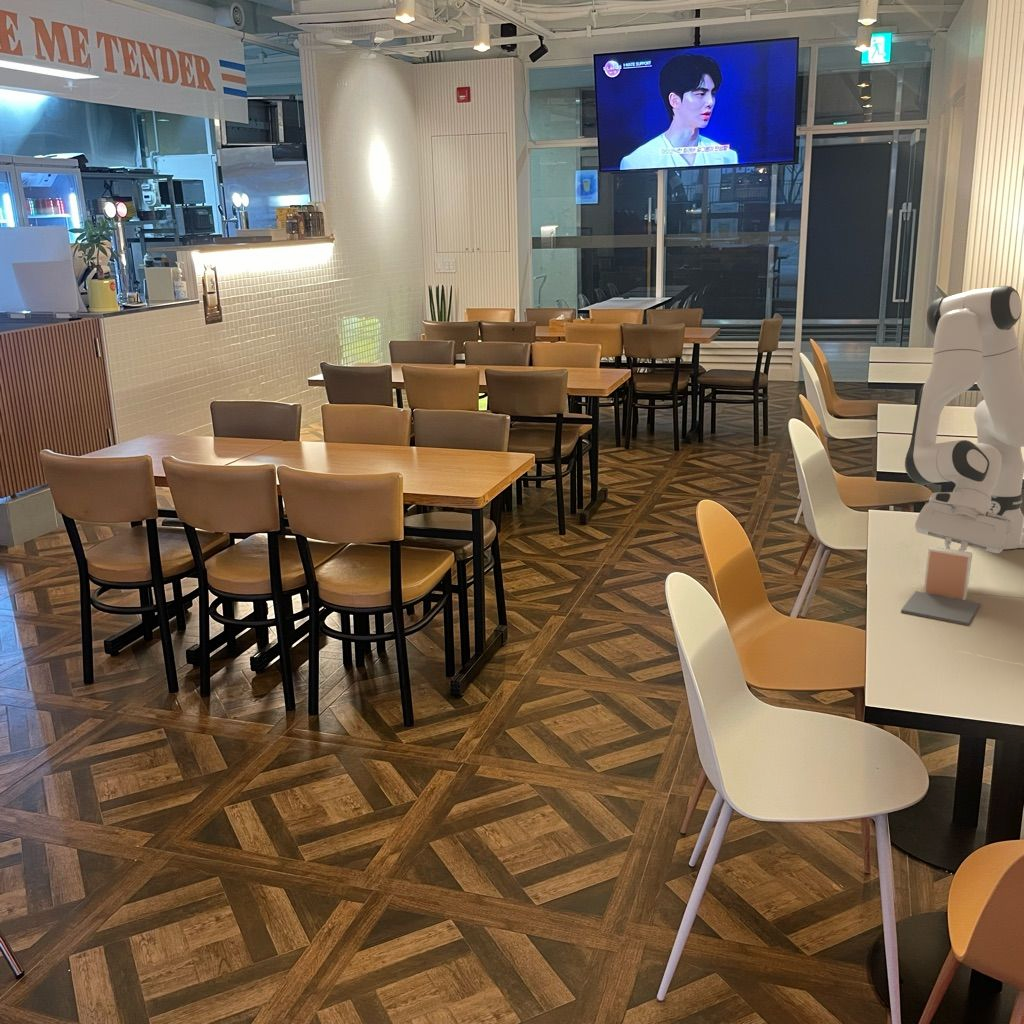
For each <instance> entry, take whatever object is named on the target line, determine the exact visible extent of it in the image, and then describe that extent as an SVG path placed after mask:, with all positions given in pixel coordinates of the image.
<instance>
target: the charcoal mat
mask: <svg viewBox="0 0 1024 1024" xmlns="http://www.w3.org/2000/svg"><path fill="white" fill-rule="evenodd" d="M980 606H981V602H977V601H972V600H967V599H965V600H962V599H957V598H951V597H946V596H940V595H935V594H929V593H924V591H917V590H915V591H914V593H913V594H912V595H911V597H910V598H909V599H908V601H906V603H905V604H904V605H903V607H902V608H901V610H900V613H902V614H903V613H904V614H908V615H913V616H918V617H925V618H928V619H935V620H940V621H945V622H949V623H953V624H959V625H964V626H969V625H970V623H971V622H972V620H973V618H974V616H975V615H976V613H977V612H978V610H979V608H980Z"/></svg>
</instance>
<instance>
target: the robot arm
mask: <svg viewBox="0 0 1024 1024" xmlns="http://www.w3.org/2000/svg"><path fill="white" fill-rule="evenodd" d="M1021 315H1022V300H1021V297H1020V294H1019V292H1018V290H1016V289H1015V288H1014V287H1013V286H1010V285H996V286H995V287H985V288H983V287H982V288H974V289H970V290H967V291H964V292H960V293H959V292H958V293H955V294H953V295H950V296H946V295H944V296H942V297H939V298H937V299H934V300H933V301H932V302H931V304H930V305H929V307H928V309H927V312H926V323H927V324H926V325H927V326H928V329H929V331H930V333H931V334H932V335H934V341H933V350H932V351H933V354H932V356H933V357H932V364H931V368H930V372H929V374H928V377H927V379H926V381H925V382H924V383H923V384H922V386H921V389H920V391H919V394H918V398H917V404H916V410H915V414H914V415H915V416H914V422H913V425H912V426H913V427H912V431H911V432H912V433H911V438H910V444H909V446H908V450H907V452H906V455H905V458H904V468H905V472H906V473H907V475H908V477H909V478H910V479H911V480H912V481H913V482H914V483H916V485H920V486H927V485H932V484H937V483H944V482H945V483H948V482H952V483H954V484H955V486H954V488H953V490H952V491H949V492H948V491H947V492H946V491H945V492H940V491H939V492H933V493H931V495H930V497H929V500H928V502H927V503H925V504H924V505H923V507H922V509H921V510H920V512H919V514H918V516H917V518H916V520H915V524H914V529H915V531H916V532H917V533H919V534H923V535H926V536H929V537H932V538H937V539H941V540H944V543H943V544H944V548H946V549H951V548H950V547H951V544H952V543H956V544H959V545H960V548H959V549H958V550H959V551H965V552H966V551H967V549H968V547H970V548H974V549H978V550H983V551H985V552H989V553H993V554H1000V553H1001V552H1003V550H1012V549H1013V550H1014V549H1024V514H1023V513H1022V511H1021V507H1022V503H1023V494H1022V488H1023V483H1024V459H1023V455H1022V454H1023V453H1022V448H1024V370H1023V366H1022V360H1021V356H1020V349H1019V345H1018V339H1017V335H1016V331H1015V329H1014V325H1016V324H1017V322H1018V321H1019V320H1020V318H1021ZM975 384H976V385H977V388H978V389H979V390H980V391H979V392H980V393H981V395H982V397H983V400H981V401H980V402H979V403H978V404H977V405H976V407H975V409H974V412H973V419H974V422H975V424H976V434H977V435H976V436H977V437H976V438H977V439H976V440H977V443H974V442H972V441H969V440H967V439H964V440H963V439H962V440H961V439H960V440H951V441H945V442H936V441H937V436H938V430H939V423H940V418H941V414H942V412H943V410H944V408H945V407H946V406H947V404H949V403H950V402H951V401H952V400H953V399H955V398H957V397H958V396H960V395H962V394H963V393H965V392H967V391H968V390H970V389H971V388H972V387H973V386H974V385H975Z"/></svg>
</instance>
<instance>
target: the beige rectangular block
mask: <svg viewBox="0 0 1024 1024" xmlns="http://www.w3.org/2000/svg"><path fill="white" fill-rule="evenodd" d="M972 559H973V552H971V551H970V552H969V551H966V550H965V551H959V549H951V548H950V549H946V547H938V546H932V545H931V546H930V547H929V548H928V553H927V559H926V569H925V576H924V577H925V578H924V586H923V592H924V593H929V594H935V595H940V596H946V597H951V598H957V599H962V600H967V597H968V591H969V581H970V575H971V567H972V561H973V560H972Z"/></svg>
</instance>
